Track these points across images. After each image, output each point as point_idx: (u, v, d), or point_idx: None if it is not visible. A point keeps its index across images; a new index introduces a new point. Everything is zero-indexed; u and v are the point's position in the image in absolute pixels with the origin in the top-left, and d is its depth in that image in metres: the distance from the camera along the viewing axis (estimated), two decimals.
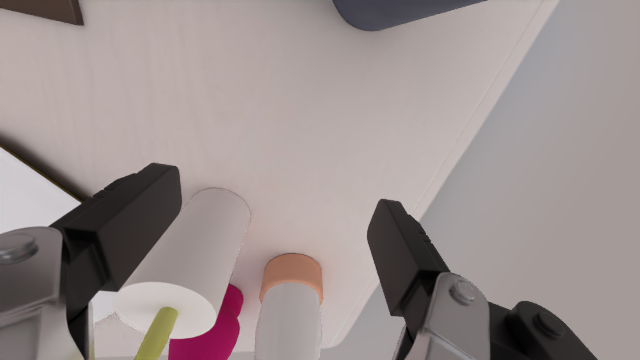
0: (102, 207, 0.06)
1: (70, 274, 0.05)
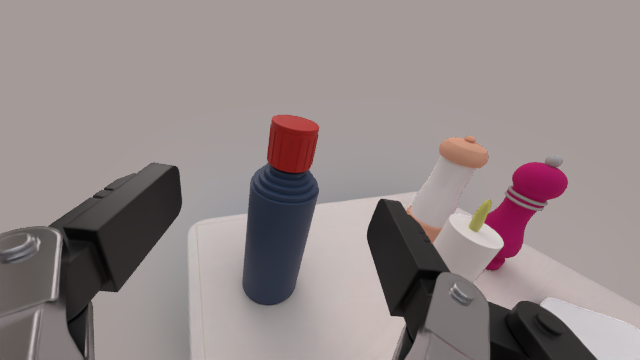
0: (102, 207, 0.06)
1: (70, 274, 0.05)
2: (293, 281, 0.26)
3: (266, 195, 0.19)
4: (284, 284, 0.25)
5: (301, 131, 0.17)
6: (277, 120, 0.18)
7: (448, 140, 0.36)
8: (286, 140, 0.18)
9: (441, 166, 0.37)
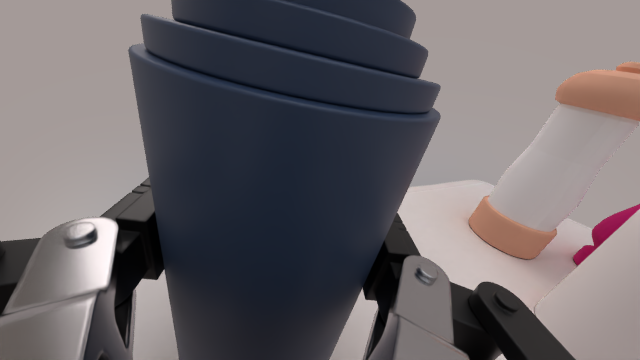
0: (145, 201, 0.06)
1: (124, 260, 0.05)
2: None
3: (187, 56, 0.03)
4: None
5: None
6: None
7: (585, 73, 0.20)
8: None
9: (567, 122, 0.21)
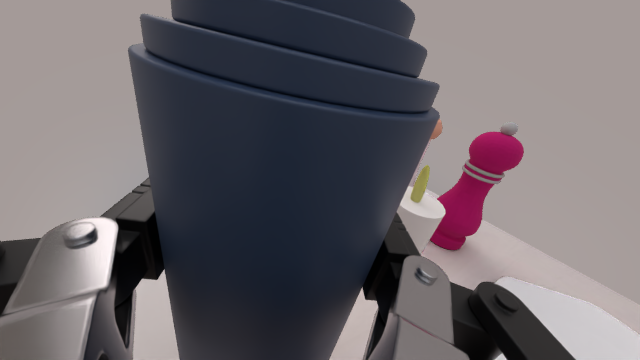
0: (145, 201, 0.06)
1: (124, 260, 0.05)
2: None
3: (187, 56, 0.03)
4: None
5: None
6: None
7: None
8: None
9: None
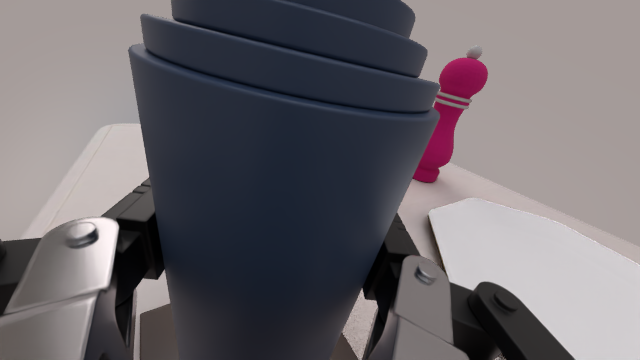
0: (146, 201, 0.06)
1: (124, 260, 0.05)
2: None
3: (187, 56, 0.03)
4: None
5: None
6: None
7: None
8: None
9: None
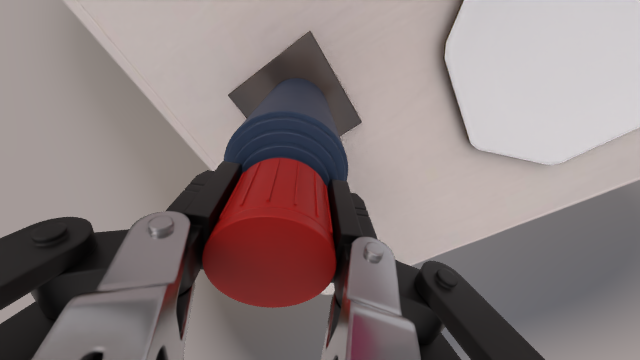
0: (204, 197, 0.07)
1: (193, 250, 0.06)
2: None
3: None
4: None
5: (295, 302, 0.08)
6: (225, 283, 0.07)
7: None
8: None
9: None
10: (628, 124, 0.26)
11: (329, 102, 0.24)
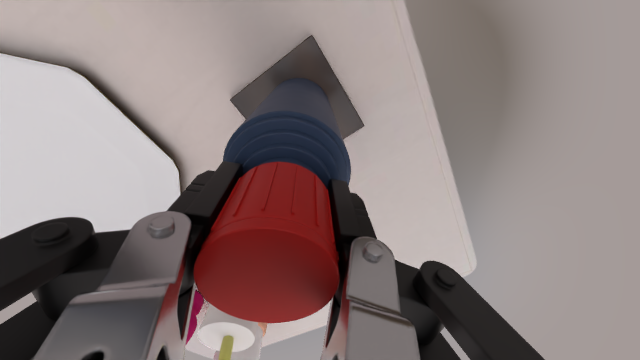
0: (204, 197, 0.07)
1: (193, 250, 0.06)
2: None
3: (311, 122, 0.10)
4: None
5: (295, 317, 0.07)
6: (220, 299, 0.07)
7: None
8: None
9: None
10: None
11: None
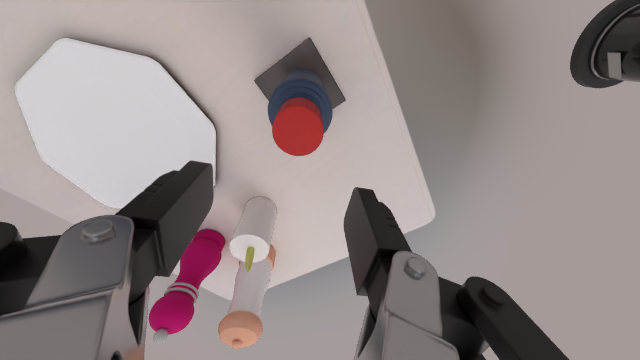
0: (158, 199, 0.06)
1: (139, 257, 0.06)
2: None
3: (312, 84, 0.22)
4: (289, 73, 0.31)
5: None
6: (280, 140, 0.18)
7: (257, 338, 0.37)
8: None
9: (259, 309, 0.40)
10: (35, 79, 0.32)
11: None
